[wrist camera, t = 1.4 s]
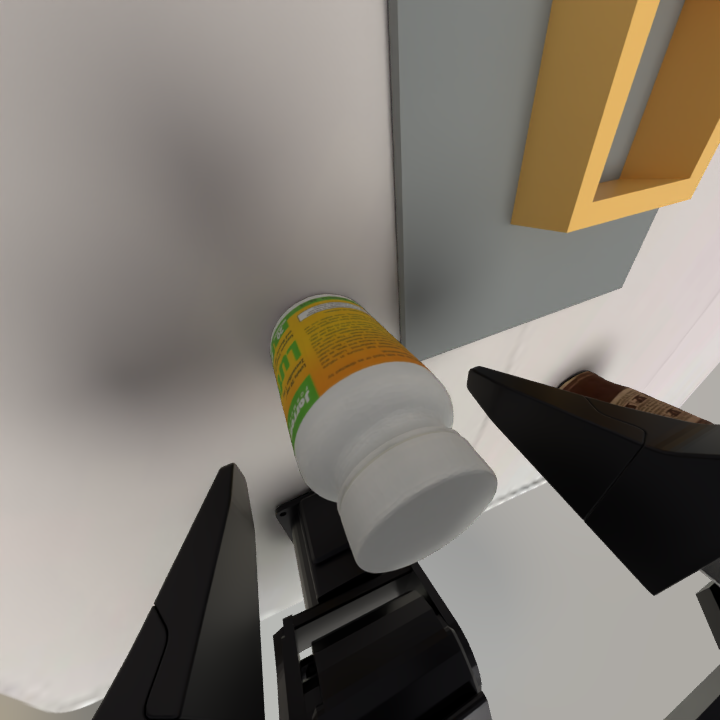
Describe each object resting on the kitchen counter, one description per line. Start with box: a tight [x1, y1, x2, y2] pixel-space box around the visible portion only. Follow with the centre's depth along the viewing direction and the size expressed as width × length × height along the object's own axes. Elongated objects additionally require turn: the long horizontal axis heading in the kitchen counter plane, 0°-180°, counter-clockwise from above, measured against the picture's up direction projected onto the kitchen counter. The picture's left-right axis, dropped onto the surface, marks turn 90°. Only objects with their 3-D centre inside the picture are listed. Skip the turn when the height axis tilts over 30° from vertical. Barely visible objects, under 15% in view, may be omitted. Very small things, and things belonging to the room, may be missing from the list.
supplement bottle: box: [270, 294, 497, 573], centre depth 10 cm, size 5×5×10 cm
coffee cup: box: [559, 371, 713, 424], centre depth 24 cm, size 9×8×13 cm
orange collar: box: [511, 0, 720, 233], centre depth 11 cm, size 8×8×3 cm
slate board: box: [388, 0, 685, 361], centre depth 14 cm, size 16×19×1 cm
